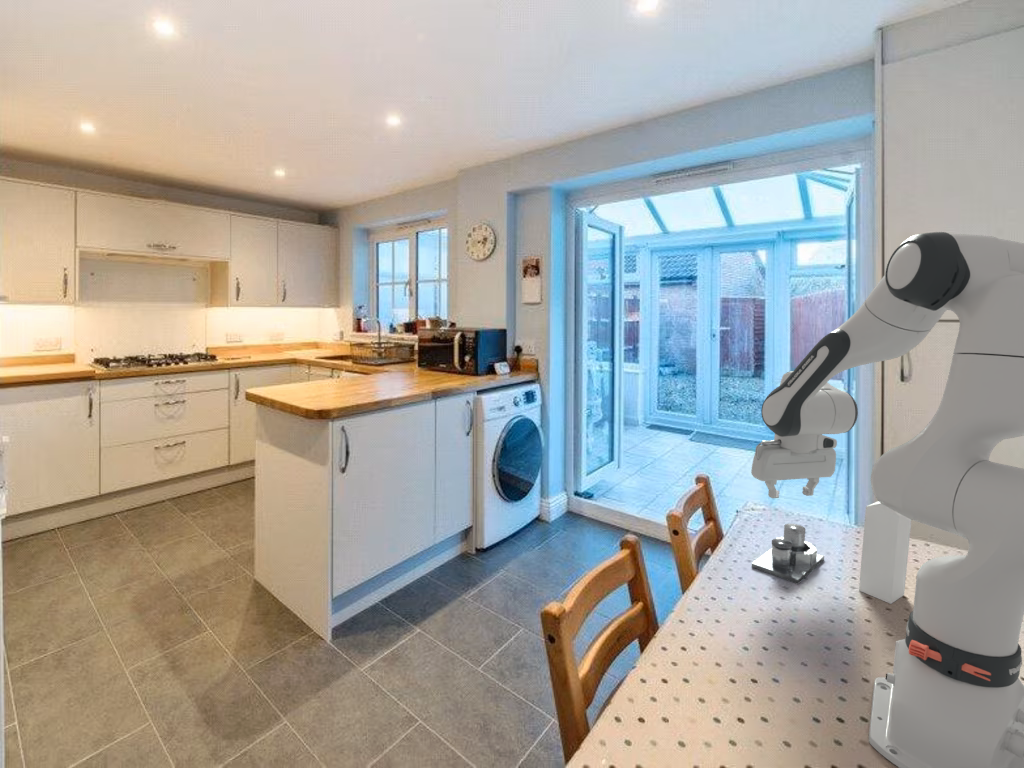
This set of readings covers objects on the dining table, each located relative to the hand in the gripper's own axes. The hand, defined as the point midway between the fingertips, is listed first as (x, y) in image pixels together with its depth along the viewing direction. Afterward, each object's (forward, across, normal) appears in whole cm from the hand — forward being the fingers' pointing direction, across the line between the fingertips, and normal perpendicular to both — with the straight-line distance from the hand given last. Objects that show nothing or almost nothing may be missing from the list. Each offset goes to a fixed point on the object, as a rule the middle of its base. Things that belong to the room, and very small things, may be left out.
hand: (790, 496), depth 118 cm
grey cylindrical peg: (+15, +2, 0) cm, 15 cm away
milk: (+16, +9, -17) cm, 25 cm away
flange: (+16, 0, -2) cm, 16 cm away
